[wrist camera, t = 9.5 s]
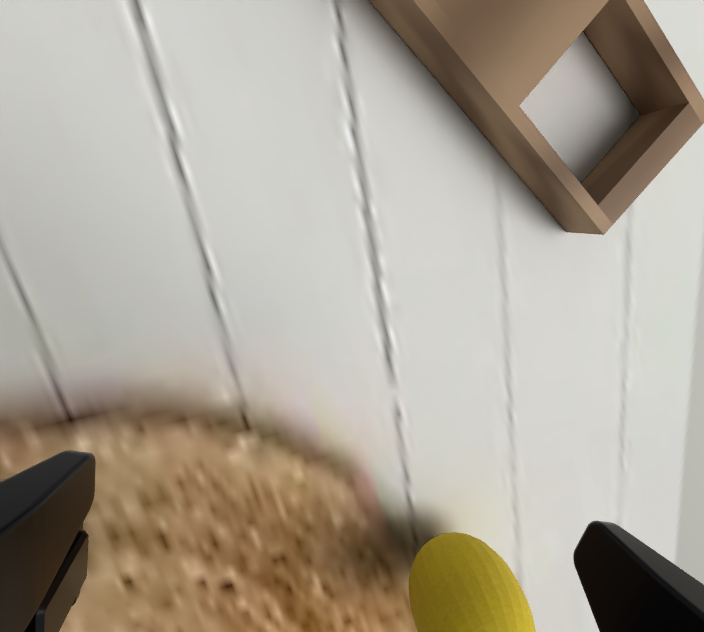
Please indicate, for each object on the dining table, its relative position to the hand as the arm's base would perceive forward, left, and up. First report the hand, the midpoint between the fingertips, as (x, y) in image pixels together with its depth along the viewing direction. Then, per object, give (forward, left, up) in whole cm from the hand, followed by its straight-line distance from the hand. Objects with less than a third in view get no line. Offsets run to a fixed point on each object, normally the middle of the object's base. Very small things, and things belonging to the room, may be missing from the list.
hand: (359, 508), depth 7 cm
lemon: (+10, -12, -13) cm, 20 cm away
